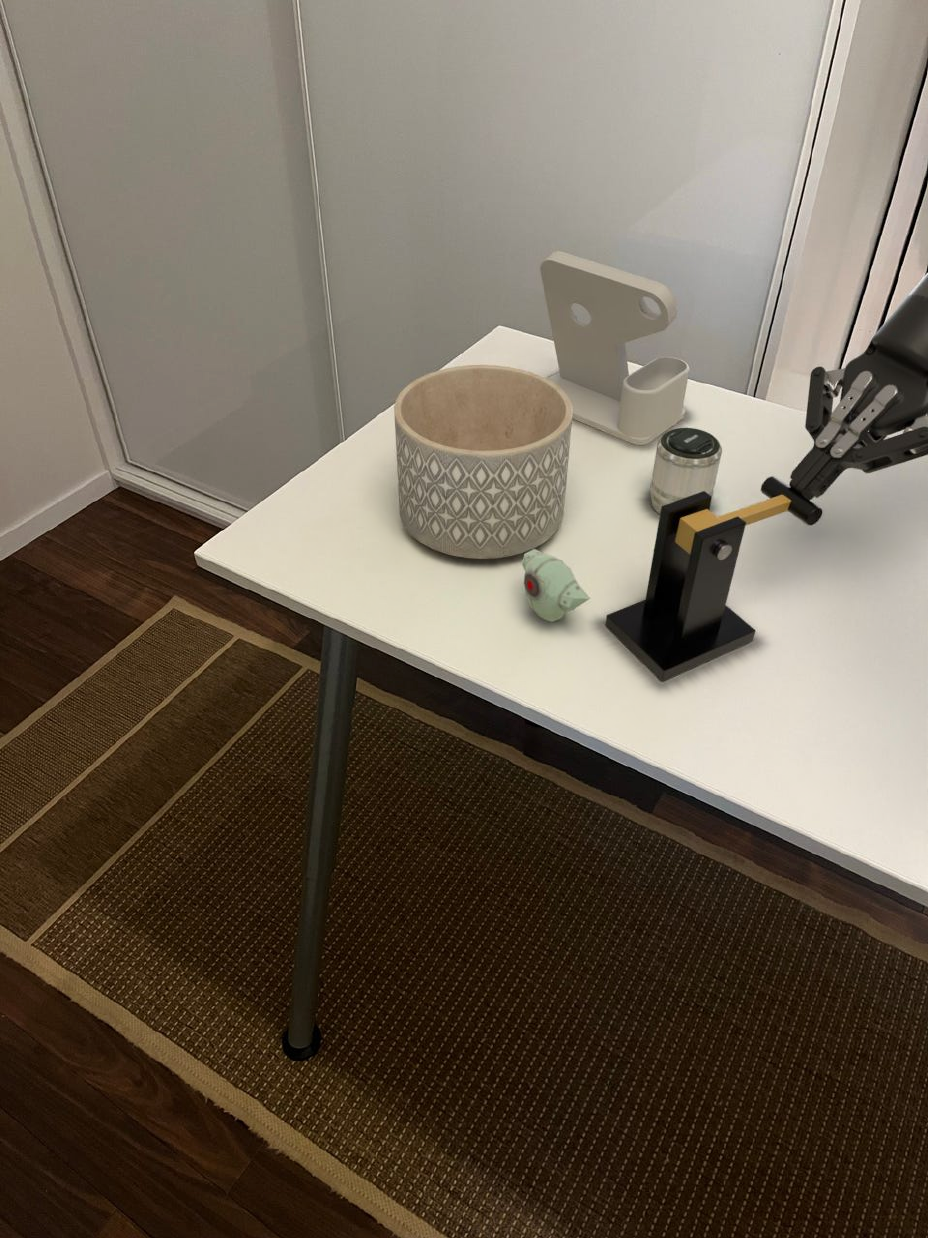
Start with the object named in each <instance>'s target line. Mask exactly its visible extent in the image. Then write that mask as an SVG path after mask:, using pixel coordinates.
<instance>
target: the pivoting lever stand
mask: <svg viewBox="0 0 928 1238" xmlns="http://www.w3.org/2000/svg"><path fill="white" fill-rule="evenodd" d="M712 498H713V496H710V495H709V494H708V493H706V492H705V491H702V492H699V493H697V494H694V495H691V496H688V497H686V498H683V499H680V500H677V501H675V502H672V503H669V504H666V505H664V506H662V507H661V512H660V514H659V519H658V525H657V531H656V537H655V542H654V549H653V553H652V554H653V555H652V560H651V564H650V571H649V577H648V581H647V582H648V583H647V587H646V594H645V599H643V600H641V601H638V602H635V603H633V604H631V605H628V606H626V607H623V608H620V609H618V610H615V611H613V612H611V613H609V614H606V618H605V627H606V628H607V629H608V630H609V631H610V632H611V633H612V634H613V635H614V636H615V637H616V638H617V639H618V640H619V641H620V642H621V643H622V644H623V645H624V646H625V647H626V648H627V649H628V650H629V651H630V652H631V653H632V654H633V655H634V656H635V657H637V659H639V661H641V663H642V664H643V665H644V666H645V667H646V668H648V670H649V671H651V672H652V673H653V674H654V675H655V676H656V677H657V678H658V679H659V680H660V681H661V682H662V683H663V682H666V681H667V680H670V679H672V678H674V677H676V676H678V675H681V674H683V673H685V672H687V671H689V670H692V669H695V668H696V667H698V666H701V665H703V664H705V663H707V662H709V661H712V660H714V659H716V658H719V657H721V656H723V655H725V654H727V653H730V652H731V651H734V650H736V649H739V648H740V647H743V646H746V645H748V644H749V643H752V642H753V641H754V638H755V634H756V629H755V628H754V627H752V625H750V624H749V623H748V622H747V621H745V620H744V619H743V618H742V617H741V616H740V615H739V614H737V613H736V612H735V611H734V610H733V609H731V608H730V607H729V606H728V605H727V601H728V597H729V593H730V589H731V586H732V581H733V577H734V573H735V569H736V566H737V565H736V564H737V561H738V557H739V553H740V549H741V545H742V541H743V537H744V533H745V530H746V526H747V525H746V522H745V521H744V520H742V519H741V518H740V517H738V516H737V517H734V518H732V519H729V520H727V521H724V522H721V523H719V524H716V525H714V526H711V527H708V528H706V529H703V530H700V531H698V532H695V534H694V539H693V543H692V548H691V553H690V554H689V553H688V552H686V551H685V550H684V549H683V548H682V547H680V546H679V545H678V544H677V543H676V542H675V539H676V535H677V530H678V526H679V521H680V518H682V517H685V516H687V515H690V514H693V513H696V512H699V511H702V510H705V509H708V510H709V511H710V509H711V504H712ZM745 525H746V526H745Z"/></svg>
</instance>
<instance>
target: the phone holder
mask: <svg viewBox="0 0 928 1238" xmlns="http://www.w3.org/2000/svg"><path fill="white" fill-rule="evenodd" d="M539 271H540V272H539V273H540V277H541V282H542V286H543V287H542V288H543V291H544V298H545V302H546V303H545V304H546V307H547V314H548V318H549V323H550V329H551V334H552V339H553V344H554V349H555V355H556V359H557V365H558V370H559V371H557V372H556V373H554V374H553V375H551V376H549V377H547V378H546V379H548V380H550V381H551V382H553V383H554V384H556V385H557V386H558V387H560V388H561V389H562V390H563V391H564V392H565V393H566V395H567V396H568V398H569V399H570V401H571V405H572V410H573V415H572V420H576V421H577V422H580V423H582V424H584V425H587V426H589V427H592V428H594V429H597V430H598V431H601V432H604V433H606V434H608V435H611V436H613V437H616V438H617V439H620V440H623V441H625V442H627V443H630V444H632V445H636V446H644V445H648V444H650V443H651V442H653V441H654V440H655V439H657V438H658V437H659V436H662V434H665V433H666V432H667V431H669V429H671V428H672V427H673V426H675V425H676V424H677V423H679V422H680V421H682V420H683V419H684V418H685V416H686V407H685V406H684V404H685V399H686V398H685V397H686V393H687V386H688V382H689V381H688V380H689V375H690V365H689V364H688V363H687V362H686V361H685V360H682V359H680V358H678V357H674V356H673V357H672V356H661V357H657V358H654V359H653V360H651V361H649V362H648V363H646V364H644V365H643V366H641V367H639V369H636V370H635V371H634V372H632V373H629V364H628V358H627V357H628V356H627V346H626V343H629V342H631V341H635V340H637V339H641V338H644V337H648V336H650V335H653V334H657V333H660V332H663V331H665V330H666V329H667V328H668V327H669V326H670V325H671V324H672V323H673V321H675V319H677V315H678V305H677V300H676V297H675V295H674V293H673V292H672V291H671V289H669V288H668V287H667V286H666V285H665V284H663V283H661V282H659V281H656V280H652V279H649V278H646V277H643V276H639V275H637V274H634V273H631V272H628V271H624V270H621V269H618V268H615V267H612V266H608V265H606V264H603V263H599V262H596V261H592V260H589V259H586V258H583V257H581V256H577V255H573V254H570V253H568V252H564V251H561V250H555V251H552V252H551V253H550V254H549V255H548V256H547V257H546V258H545V259H544V260H543V261H542V262H541V264H540V266H539ZM644 297H645V298H649V299H651V300H652V301H654V302H655V303H656V304H657V306H658V308H659V311H660V312H657V311H656V310H654V309H652V307H650V306H649V305H648V304H647V303H646V301H645V299H644ZM573 304H577V305H579V306H581V307H583V308H584V309H585V310H586V311H587V313H588V315H589V317H590V322H589V323H583V322H581V321H579V320H578V317H577V315H576V314H575V312H574V309H573Z"/></svg>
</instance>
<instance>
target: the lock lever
mask: <svg viewBox="0 0 928 1238" xmlns="http://www.w3.org/2000/svg"><path fill="white" fill-rule="evenodd" d="M760 492H761V493H762V494H763V495H765V496H766V497H767V498H768V499H766V500H762V501H760V502H757V503H753V504H751V505H748V506H745V507H742V508H738V509H736V510H733V511H730V512H727V513H725V514H722V515H719V516H717V515H715V514H714V513H713V512H712V511H710V509H709V510H708V509H705V510H702V511H699V512H696V513H693V514H690V515H687V516H685V517H682V518H680V521H679V526H678V530H677V535H676V539H675V542H676V543H677V544H678V545H679V546H680V547H682V548H683V549H684V550H685V551H686V552H688V553H689V554H690V553H691V548H692V543H693V539H694V534H695V532H698V531H700V530H703V529H706V528H708V527H711V526H714V525H716V524H719V523H721V522H724V521H727V520H729V519H732V518H734V517H737V516H738V517H740V518H741V519H742V520H744V521H745V522H746V525H745V527H746V526H749V525H752V524H755V523H758V522H760V521H764V520H766V519H769V518H772V517H775V516H778V515H780V514H782V513H783V514H784V513H785V512H788V513H790V514H791V515H793V516H794V517H796V518H797V519H798V520H800V521H801V522H802V523H804V524H805V525H807V526H809V527H811V526H814V525H815V524H817V523H818V522H819V521H820V520H821V518H822V516H823V513H824V511H823V508H821V507H820V506H819V505H817V504H816V503H814V502H813V501H811V500H808V499H807V498H805V497H804V496H802V495H801V494H799V493H798V492H796V491H795V490H793V489H792V488H791V487H790V486H789V484H786V483H785V482H783V481H782V480H781V479H779V478H778V477H776V476H774V475H771V476H769V477H767V478H766V479H765V480H764V481H763V483H762V484H761V486H760Z"/></svg>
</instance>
